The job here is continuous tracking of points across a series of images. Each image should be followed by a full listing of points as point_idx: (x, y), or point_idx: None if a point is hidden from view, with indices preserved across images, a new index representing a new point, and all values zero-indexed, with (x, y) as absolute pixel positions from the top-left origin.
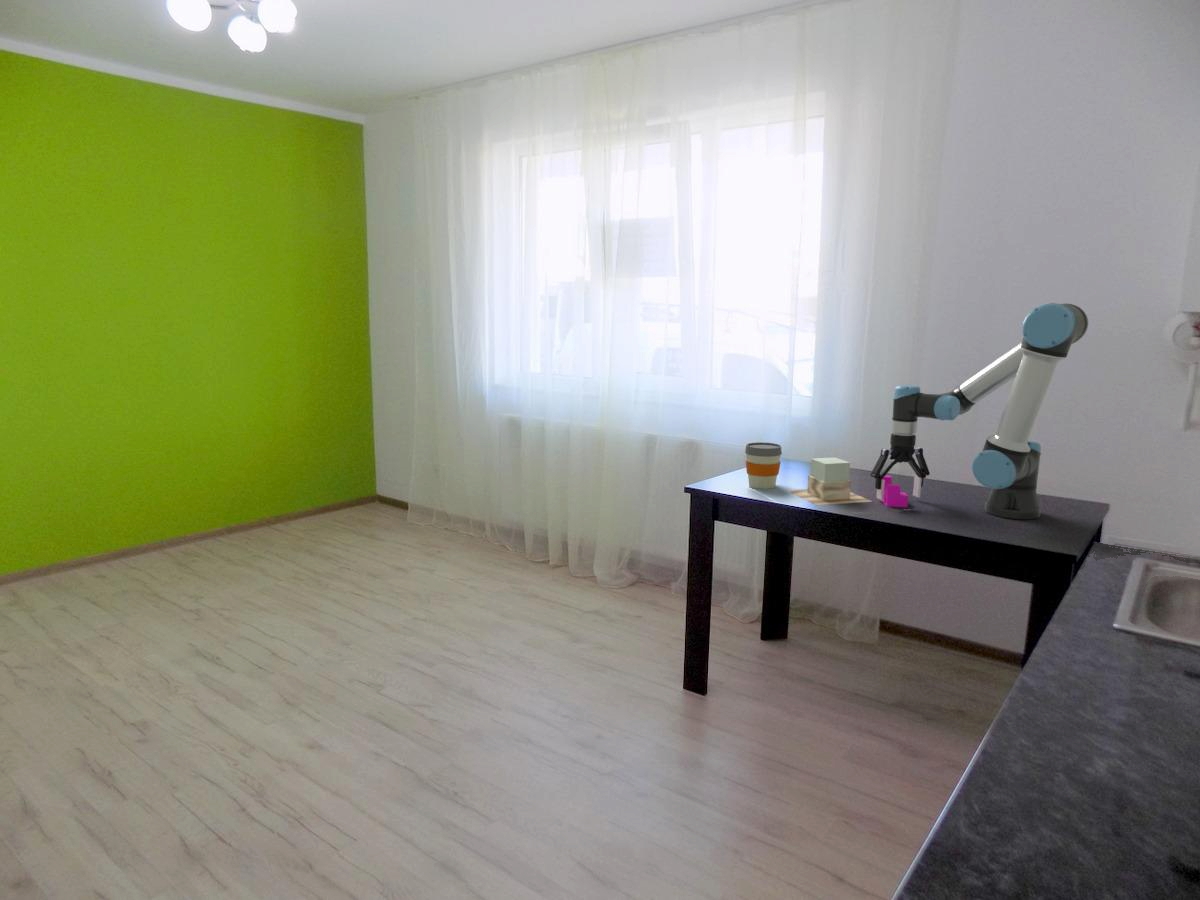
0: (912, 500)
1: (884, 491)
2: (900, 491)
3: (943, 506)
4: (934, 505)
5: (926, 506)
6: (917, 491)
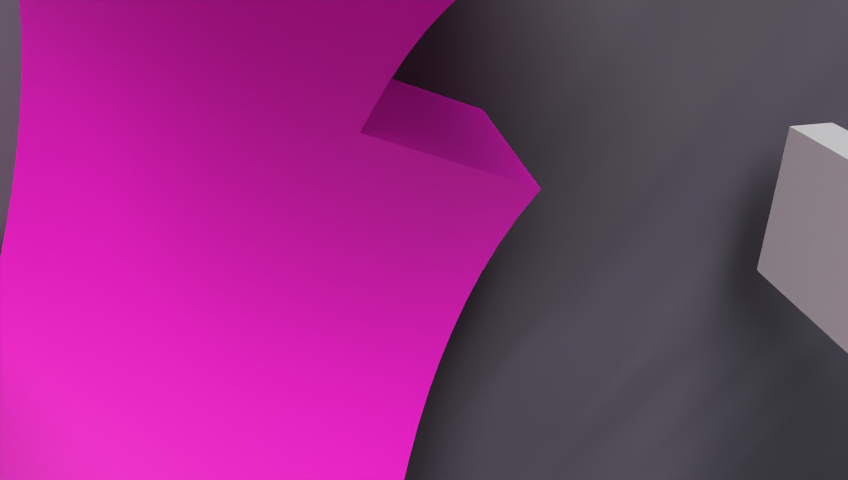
0: (714, 126)
1: (129, 96)
2: (526, 201)
3: (836, 455)
4: (777, 411)
5: (641, 445)
6: (833, 301)
